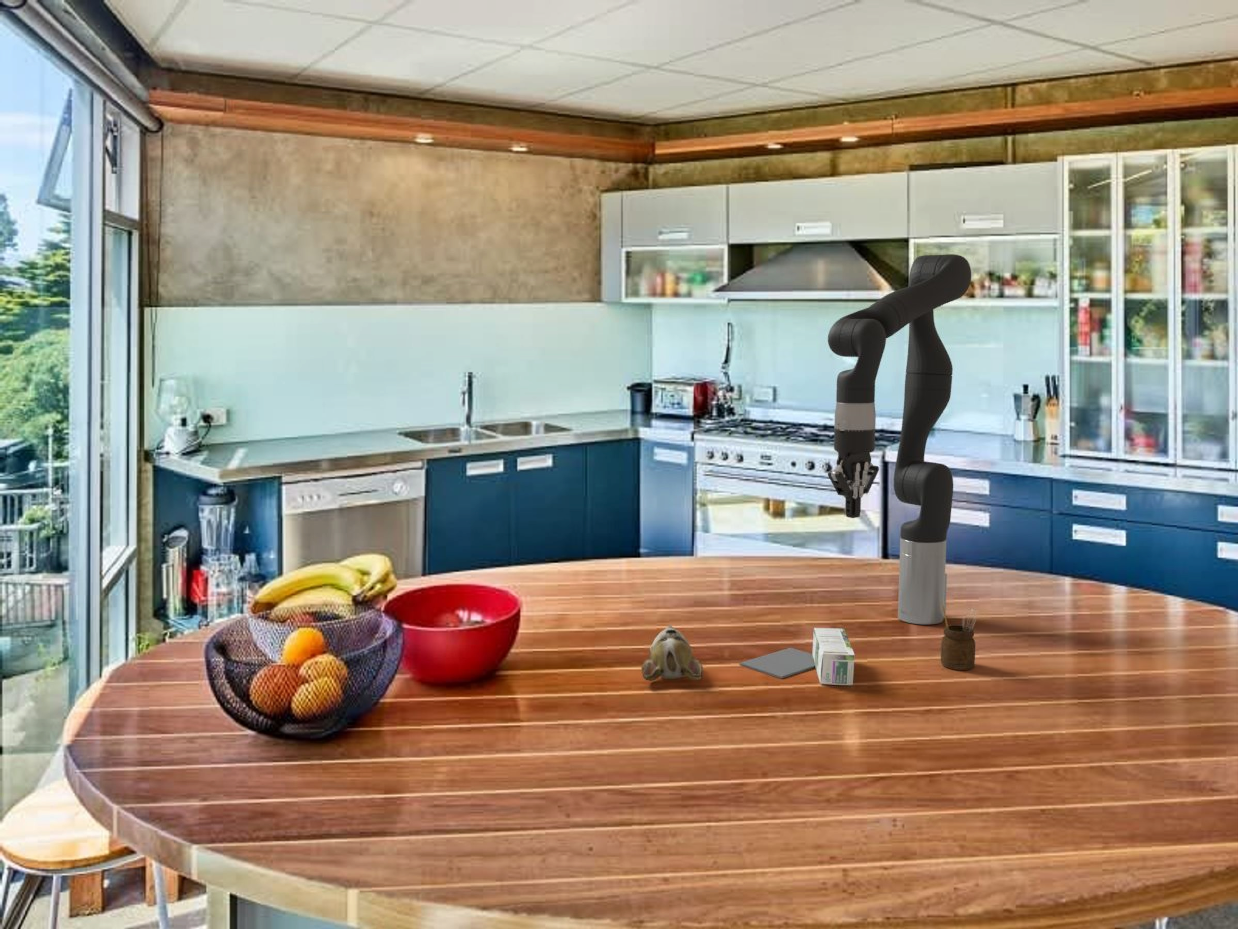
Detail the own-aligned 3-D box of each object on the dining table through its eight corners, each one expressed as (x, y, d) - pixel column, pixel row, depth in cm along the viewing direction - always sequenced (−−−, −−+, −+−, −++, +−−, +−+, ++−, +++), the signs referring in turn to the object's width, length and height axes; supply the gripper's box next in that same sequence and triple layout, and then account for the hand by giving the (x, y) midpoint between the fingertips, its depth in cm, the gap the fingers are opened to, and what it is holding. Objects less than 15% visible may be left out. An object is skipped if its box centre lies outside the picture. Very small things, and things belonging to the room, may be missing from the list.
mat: (790, 649, 204) (790, 647, 204) (832, 662, 197) (832, 660, 197) (739, 665, 196) (739, 662, 195) (781, 678, 188) (781, 676, 188)
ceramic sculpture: (699, 616, 196) (704, 645, 181) (699, 661, 198) (704, 694, 183) (640, 616, 196) (641, 646, 181) (641, 661, 198) (641, 694, 183)
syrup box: (842, 657, 198) (855, 686, 184) (810, 656, 199) (820, 685, 184) (844, 628, 197) (856, 654, 183) (812, 626, 198) (822, 653, 183)
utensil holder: (976, 672, 191) (979, 606, 190) (939, 669, 192) (942, 604, 191) (972, 661, 197) (975, 598, 195) (937, 659, 198) (939, 596, 197)
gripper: (860, 422, 208) (858, 510, 210) (816, 427, 200) (814, 518, 202) (892, 425, 202) (890, 515, 205) (848, 430, 194) (846, 524, 196)
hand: (852, 517), depth 203 cm, fingers closed
